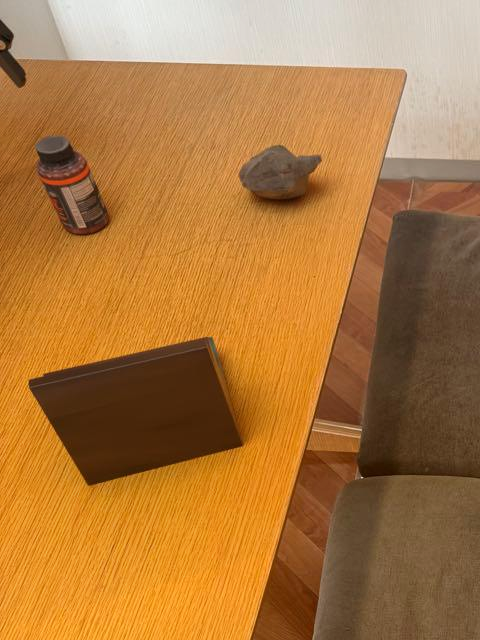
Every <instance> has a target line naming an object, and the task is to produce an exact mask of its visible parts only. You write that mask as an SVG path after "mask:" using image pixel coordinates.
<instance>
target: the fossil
mask: <svg viewBox="0 0 480 640" xmlns="http://www.w3.org/2000/svg"><path fill="white" fill-rule="evenodd" d="M322 162H323V159H322V155H321V154H319V153H317V154H312V155H303V154H301V155H297V156H296V155H294V153H293V152H291V151H290V150H289V149H288V148H287V147H285V146H284V145H282V144H277V145H271V146H269V147H267V148H265V149H264V150H262V151H260V152H259V153H257V154H256V155H254V156H253V157H250V158H249V161H247V162H244V163H243V164H242V166H241V168H240V170H239V172H238V178H239V180H240V183H241V186H242V187H243V188H244V189H247V190H249V191H250V193H252V194H255V195H257V196H260V197H262V198H266V199H271V200H294V199H296V198H299V197H303V196H304V195H305V194H306V192H307V187H308V181H309V176H310V175H311V174H312V173H314V172H315V171H316V170H317V168H318V166H319V165H320V164H321V163H322Z"/></svg>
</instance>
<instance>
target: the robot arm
mask: <svg viewBox="0 0 480 640" xmlns="http://www.w3.org/2000/svg"><path fill="white" fill-rule="evenodd" d="M14 38H15V35H14V33H13V31H12V30H11V29H10V28H9V27H8V26H7V25H6V24H5V23H4V22H3V21H2V19H1V18H0V68H1V70H2V71H3V72H4V73H5V75H7V76H8V78H9V79H10V80H11V81H12V83H13V84H14V85H15V86H16V87H17V88H18V89H21V88H24V87H25V86H26V83H27V78H26V76H27V73H26V71H25V69H24V68H23V67H22V66H21V64H20V63H19V61H17V60H16V58H15V57H14V56H13V55H12V54H11V52H10V51H9V50H11V49H12V45H13V41H14Z"/></svg>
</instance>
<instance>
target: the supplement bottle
mask: <svg viewBox="0 0 480 640" xmlns="http://www.w3.org/2000/svg"><path fill="white" fill-rule="evenodd" d="M34 147H35V150H36V153H37V156H38V160H37V162H36V166H35V167H36V173H37V174H38V177H39V179H40V181H41V183H42V185H43V187H44V190H45V192H46V193H47V196H48V198H49V200H50V202H51V204H52V207H53V209H54V211H55V212H56V215H57V218H58V220H59V222H60V224H61V225H62V227H63V228H64V230H65V231H67V232H69V233H71V234H74V235H89V234H94V233H96V232H98V231H100V230H102V229H103V228H105V227H106V226H107V224H108V222H109V219H110V216H109V212H108V210H107V207H106V204H105V202H104V200H103V197H102V194H101V193H100V190H99V187H98V185H97V183H96V180H95V178H94V176H93V173H92V171H91V168H90V166H89V163H88V161H87V160H86V158H85V156H84V155H83V154H82V153H80V152H79V151H77V150H74V148H73V146H72V144H71V141H70V140H69V138H68V137H66V136H63V135H59V134H58V135H57V134H53V135H48V136H44V137H42V138H41V139H39V140H38V141H36V143H35V146H34Z"/></svg>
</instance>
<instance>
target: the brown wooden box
mask: <svg viewBox="0 0 480 640" xmlns="http://www.w3.org/2000/svg"><path fill="white" fill-rule="evenodd" d="M225 376H226V375H225V372H224V369H223V364H222V362H221V358H220V355H219V351H218V349H217V346H216V343H215V341H214V337H213V336H204V337H199V338H195V339H191V340H187V341H182V342H177V343H173V344H169V345H164V346H159V347H156V348H155V347H154V348H151V349H147V350H142V351H138V352H134V353H129V354H125V355H121V356H116V357H111V358H107V359H102V360H98V361H93V362H89V363H85V364H80V365H77V366H71V367H66V368H62V369H58V370H53V371H49V372H44V373H43V374H42V376H38V377H34V378H29V379H28V381H27V382H28V389H29V391H30V392H31V394H32V396H33V398H34V399H35V401H36V402H37V404H38V405H39V407H40V409H41V410H42V412H43V414H44V415H45V417H46V418H47V420H48V422H49V424H50V425H51V427H52V428H53V430H54V432H55V434H56V435H57V437H58V439H59V441H60V442H61V443H62V445H63V447H64V449H65V450H66V452H67V453H68V455H69V456H70V458H71V460H72V462H73V464H74V465H75V466H76V468H77V470H78V471H79V473H80V475H81V476H82V478H83V480H84V481H85V484H86V485H87V486H92V485H96V484H100V483H104V482H108V481H111V480H115V479H119V478H123V477H127V476H130V475H131V476H132V475H136V474H139V473H142V472H147V471H151V470H154V469H158V468H162V467H166V466H170V465H174V464H178V463H182V462H186V461H190V460H193V459H197V458H201V457H205V456H209V455H213V454H217V453H220V452H224V451H228V450H232V449H237V448H240V447H243V446H244V444H243V443H244V442H243V440H242V436H241V432H240V428H239V424H238V421H237V417H236V414H235V410H234V407H233V402H232V398H231V395H230V391H229V388H228V384H227V380H226V377H225Z"/></svg>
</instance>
